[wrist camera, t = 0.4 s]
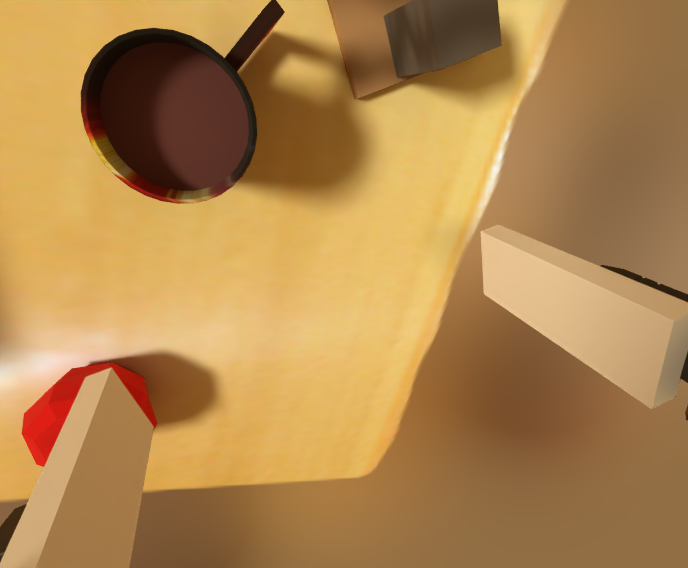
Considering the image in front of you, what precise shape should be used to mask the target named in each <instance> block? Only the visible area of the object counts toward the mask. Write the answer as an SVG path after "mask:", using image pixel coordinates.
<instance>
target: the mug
mask: <svg viewBox="0 0 688 568" xmlns="http://www.w3.org/2000/svg"><path fill="white" fill-rule="evenodd" d="M283 14H284V10H283V9H282V8H281V6H280V5H279V4H278V2H277V1H276V0H271V1H270V2H269V3H268V5H267V6H266V7H265V8H264V9H263V10H262V12H261V13H260V14H259V15H258V17H257V18H256V19H255V20H254V22H253V23H252V24H251V25H250V27H249V28H248V29H247V30H246V32H245V33H244V34H243V36H242V37H241V38H240V39H239V41H238V42H237V43H236V44H235V46H234V47H233V48H232V49H231V51H230V52H229V53H228V54H227V56H226V57H225V58H224V57H223V56H221V55H220V54H219V53H218V52H216V51H215V50H214V49H213V48H211V47H210V46H209V45H207V44H205V43H203V42H202V41H200V40H198V39H196V38H194V37H192V36H190V35H187V34H184V33H181V32H177V31H174V30H168V29H159V28H149V29H139V30H134V31H131V32H128V33H126V34H123V35H120V36H118V37H116V38H115V39H113V40H112V41H110V42H109V43H108V44H106V45H105V46H103V48H102V49H101V50H100V51H99V52H98V53H97V55H96V56H95V57H94V58H93V59H92V61H91V63H90V65H89V67H88V69H87V71H86V73H85V76H84V80H83V85H82V89H81V113H82V118H83V123H84V127H85V130H86V133H87V135H88V137H89V140H90V142H91V144H92V147H93V148H94V150H95V151H96V153H97V154H98V156H99V157H100V159H101V160H102V162H103V163H104V164H105V165H106V166H107V167H108V168H109V170H110V171H111V172H112V173H113V174H114V175H115V176H116V177H117V178H119V179H120V180H121V181H123V182H124V183H125V184H127V185H128V186H129V187H131V188H133V189H134V190H136V191H138V192H140V193H142V194H144V195H146V196H148V197H151V198H154V199H157V200H160V201H165V202H171V203H177V204H180V203H197V202H202V201H206V200H209V199H212V198H214V197H216V196H219V195H221V194H223V193H224V192H225V191H227V190H228V189H230V188H231V187H233V186H234V185H235V183H236V182H237V181H238V180H239V179H240V178H241V177H242V176H243V174H244V173H245V171H246V169H247V168H248V166H249V164H250V162H251V159H252V156H253V154H254V151H255V145H256V138H257V125H256V116H255V111H254V107H253V103H252V100H251V98H250V96H249V93H248V91H247V88H246V86H245V85H244V83H243V81H242V80H241V78H240V77H239V75H238V74H237V71H238V70H239V69H240V68H241V66H242V65H243V64H244V63H245V61H246V60H247V59H248V58H249V56H250V55H251V54H252V53H253V51H254V50H255V49H256V48H257V46H258V45H259V44H260V43H261V42H262V41H263V39H264V38H265V37H266V36H267V35H268V34H269V33H270V31H271V30H272V29H273V27H274V26H275V24H276V23H277V22H278V20H279V19H280V18H281V16H282V15H283Z"/></svg>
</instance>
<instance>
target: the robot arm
mask: <svg viewBox="0 0 688 568" xmlns="http://www.w3.org/2000/svg"><path fill="white" fill-rule="evenodd" d="M481 247H482V265H483V285H484V294H485V295H486V296H488V297H489V298H491V299H492V300H494V301H495V302H497V303H498V304H499V305H501V306H502V307H504V308H505V309H507V310H508V311H510V312H511V313H513V314H514V315H515V316H517V317H519V318H520V319H521V320H523V321H524V322H526V323H527V324H528V325H530V326H531V327H533V328H534V329H536V330H537V331H539V332H540V333H542V334H543V335H544V336H546V337H547V338H549V339H550V340H552V341H553V342H555V343H556V344H558V345H559V346H561V347H562V348H563V349H565V350H566V351H568V352H569V353H571V354H572V355H574V356H575V357H576V358H578V359H579V360H581V361H582V362H584V363H585V364H587V365H588V366H590V367H591V368H593V369H594V370H595V371H597V372H598V373H600V374H601V375H603V376H604V377H606V378H607V379H608V380H610V381H611V382H613V383H614V384H616V385H617V386H619V387H620V388H622V389H623V390H624V391H626V392H627V393H629V394H630V395H632V396H633V397H635V398H636V399H638V400H639V401H641V402H642V403H643V404H645V405H646V406H648V407H649V408H651V409H653V408H655V407H657V406H659V405H661V404H663V403H665V402H667V401H669V400H671V399H673V398H675V397H676V394H677V390H678V387H679V383H680V380H681V379H683V380H684V381H686V382H687V383H688V294H685V293H683V292H680V291H678V290H675V289H672V288H670V287H668V286H665V285H662V284H660V285H658V284H657V282H655V281H652V280H650V279H647V278H644V279H643V278H642V276H640V275H637V274H635V273H632V272H630V271H627V270H624V269H620V268H615V267H610V266H604V265H601V266H598V265H596V264H593V263H591V262H588V261H586V260H583V259H581V258H578V257H576V256H574V255H571V254H569V253H566V252H564V251H562V250H559V249H557V248H554V247H552V246H549V245H547V244H545V243H542V242H540V241H537V240H535V239H532V238H530V237H527V236H525V235H523V234H520V233H518V232H515V231H513V230H510V229H508V228H506V227H503V226H501V225H496V226H494V227H491V228H488V229H485V230H483V231H481ZM685 414H686V420H688V407H687V410H686V412H685ZM153 429H154V426H153V425H152V424H151V422H150V421H149V419H148V418H147V417H146V415H145V414H144V412H143V411H142V410H141V408H140V407H139V405H138V404H137V403H136V401H135V400H134V398H133V397H132V396H131V394H130V393H129V391H128V390H127V388H126V387H125V386H124V384H123V383H122V381H121V380H120V379H119V377H118V376H117V374H116V373H115V372H114V370H113V369H112V367H111V368H109V369H106V370H103V371H100V372H98V373H95V374H92V375H90V376H87V377H85V379H84V381H83V384H82V386H81V388H80V390H79V392H78V394H77V397H76V399H75V401H74V403H73V405H72V407H71V410H70V412H69V414H68V416H67V418H66V421H65V423H64V425H63V427H62V429H61V431H60V434H59V436H58V438H57V440H56V442H55V444H54V447H53V449H52V451H51V453H50V455H49V457H48V460H47V462H46V464H45V466H44V468H43V470H42V473H41V475H40V477H39V479H38V481H37V484H36V486H35V488H34V490H33V492H32V494H31V497H30V499H29V501H28V503H27V504H25V505H23V506H20V507H18V508H16V509H14V511H13V512H12V513H11V514H10V515H9V517H8V518H7V519H6V520H5V522H4V523H3V524H2V525H1V527H0V568H129V565H130V559H131V554H132V548H133V542H134V537H135V531H136V525H137V520H138V514H139V508H140V503H141V497H142V491H143V486H144V480H145V474H146V468H147V463H148V457H149V451H150V446H151V440H152V434H153Z"/></svg>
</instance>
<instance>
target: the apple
mask: <svg viewBox="0 0 688 568" xmlns="http://www.w3.org/2000/svg"><path fill="white" fill-rule="evenodd" d="M111 367H112V369H113V370H114V372H115V373H116V374H117V376H118V377H119V379H120V380H121V381H122V383H123V384H124V386H125V387H126V388H127V390H128V391H129V393H130V394H131V396H132V397H133V398H134V400H135V401H136V403H137V404H138V405H139V407H140V408H141V410H142V411H143V412H144V414H145V415H146V417H147V418H148V419H149V421H150V422H151V424H152V425H153V426H154V428H155V427H156V425H157V421H156V418H155V415H154V412H153V409H152V406H151V403H150V400H149V396H148V392H147V389H146V385H145V381H144V378H143V377H142V376H140V375H138V374H135V373H133V372H131V371H129V370H127V369H125V368H123V367H120V366H118V365H116V364H114V363H112V362H111V363H104V364H98V365H92V366H86V367H79V368H73V369H71V370H70V371H69V372H68V373H67V374H65V375H64V376H63V377H62V378H61V379H60V380H59V381H58V382H56V383H55V384H54V385H53V386H52V387H51V388H50V389H49V390H48V391H47V392H46V393H45V394H44V395H43V396H42V397H41V398H40V399H39V400H38V401H37V402H36V403H35V404H34V405H33V406H32V407H31V408H30V409H28V410H27V411H26V412H25V413H24V418H23V428H22V435H23V437H24V439H25V441H26V443H27V446H28V448H29V450H30V452H31V454H32V456H33V458H34V460H35V462H36V464H37V465H40V466H43V467H44V466H45V464H46V462H47V460H48V457H49V455H50V453H51V451H52V449H53V447H54V444H55V442H56V440H57V438H58V436H59V434H60V431H61V429H62V427H63V425H64V423H65V421H66V418H67V416H68V414H69V412H70V410H71V407H72V405H73V403H74V401H75V399H76V397H77V394H78V392H79V390H80V388H81V386H82V384H83V381H84V379H85V377H87V376H90V375H92V374H95V373H98V372H100V371H103V370H106V369H109V368H111ZM153 430H154V429H153Z"/></svg>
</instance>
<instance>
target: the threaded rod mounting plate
mask: <svg viewBox="0 0 688 568" xmlns="http://www.w3.org/2000/svg"><path fill="white" fill-rule="evenodd" d="M327 1H328V5H329V8H330V12H331V15H332V19H333V23H334V26H335V30H336V33H337V37H338V41H339V44H340V48H341V52H342V55H343V59H344V62H345V66H346V70H347V73H348V77H349V80H350V84H351V88H352V91H353V95H354V98H355V99H357V98H361V97H363V96H366V95H369V94H371V93H374V92H376V91H379V90H381V89H384V88H386V87H389V86H391V85H394V84H397V83H399V82H402V81H404V80H407V79H409V78H412V77H414V76H417V75H419V74H422V73H425V72H430V71H436V70H441V69H443V68H446V67H448V66H451V65H453V64H456V63H458V62H461V61H464V60H466V59H469V58H471V57H474V56H476V55H479V54H481V53H484V52H486V51H489V50H491V49H494V48H497V47H499V46H501V34H500V23H499V12H498V1H497V0H327Z"/></svg>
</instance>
